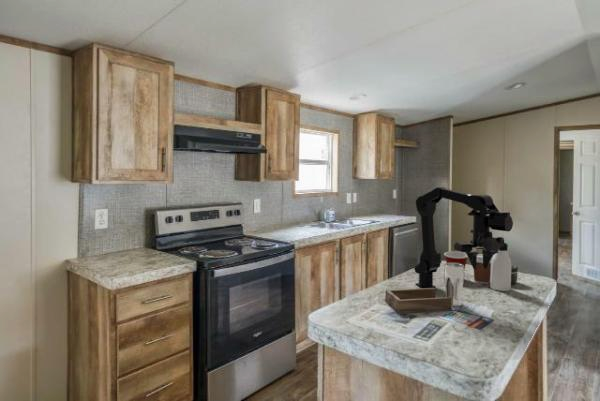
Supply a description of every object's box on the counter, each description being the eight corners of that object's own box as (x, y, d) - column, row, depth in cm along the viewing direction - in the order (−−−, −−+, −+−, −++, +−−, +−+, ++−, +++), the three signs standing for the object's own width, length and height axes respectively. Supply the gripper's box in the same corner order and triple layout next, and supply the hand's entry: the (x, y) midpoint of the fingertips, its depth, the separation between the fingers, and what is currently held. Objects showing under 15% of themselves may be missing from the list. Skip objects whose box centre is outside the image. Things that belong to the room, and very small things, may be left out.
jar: (517, 281, 172) (518, 264, 171) (516, 286, 164) (517, 269, 163) (493, 277, 177) (494, 262, 177) (491, 283, 169) (491, 266, 168)
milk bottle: (513, 292, 156) (515, 244, 154) (493, 291, 157) (494, 244, 156) (506, 286, 163) (508, 241, 162) (487, 285, 165) (489, 240, 163)
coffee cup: (475, 277, 177) (476, 252, 176) (496, 281, 171) (497, 255, 170) (467, 281, 171) (468, 255, 170) (488, 285, 164) (489, 259, 164)
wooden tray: (384, 300, 145) (384, 289, 145) (432, 298, 148) (433, 287, 148) (399, 313, 131) (399, 301, 131) (452, 310, 134) (452, 298, 134)
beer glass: (454, 307, 137) (455, 267, 136) (439, 302, 143) (440, 263, 142) (467, 304, 140) (468, 265, 139) (452, 299, 147) (453, 261, 146)
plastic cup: (440, 279, 175) (440, 253, 174) (447, 274, 183) (447, 250, 183) (464, 283, 168) (465, 257, 167) (470, 278, 177) (471, 253, 176)
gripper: (471, 232, 132) (470, 275, 133) (518, 230, 135) (517, 273, 136) (453, 227, 143) (452, 267, 144) (498, 226, 146) (496, 266, 147)
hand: (479, 268), depth 143 cm, fingers open, 4 cm apart
